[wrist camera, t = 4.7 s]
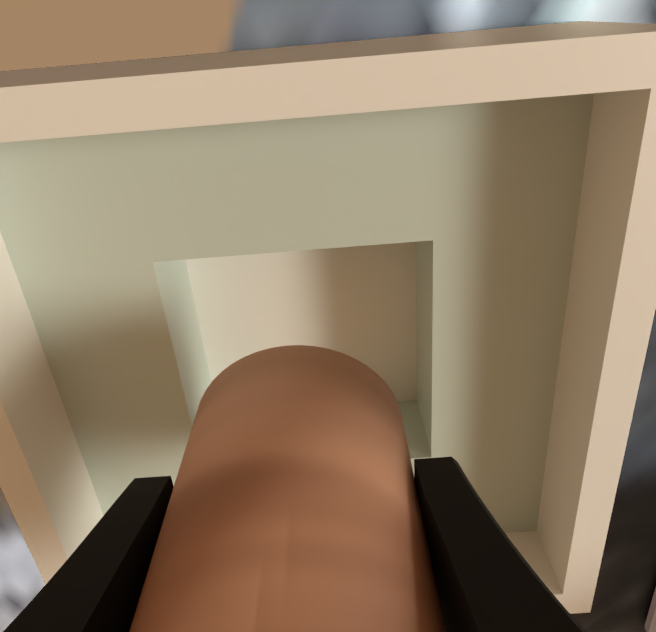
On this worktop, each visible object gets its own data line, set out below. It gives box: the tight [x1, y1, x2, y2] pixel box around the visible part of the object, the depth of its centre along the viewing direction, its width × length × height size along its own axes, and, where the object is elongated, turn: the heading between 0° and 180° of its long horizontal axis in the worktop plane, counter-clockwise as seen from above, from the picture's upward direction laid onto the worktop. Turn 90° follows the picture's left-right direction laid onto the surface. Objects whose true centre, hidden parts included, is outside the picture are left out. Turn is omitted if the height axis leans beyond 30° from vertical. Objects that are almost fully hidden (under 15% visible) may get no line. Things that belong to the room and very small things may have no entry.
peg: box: [129, 345, 446, 632], centre depth 8 cm, size 4×4×6 cm
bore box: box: [0, 21, 656, 614], centre depth 14 cm, size 14×14×5 cm
